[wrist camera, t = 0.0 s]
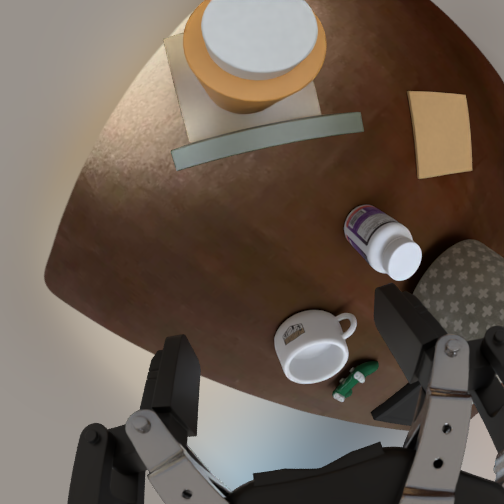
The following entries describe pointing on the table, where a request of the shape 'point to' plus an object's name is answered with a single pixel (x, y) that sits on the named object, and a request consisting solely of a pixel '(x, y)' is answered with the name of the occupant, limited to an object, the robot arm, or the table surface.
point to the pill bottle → (382, 242)
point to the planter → (465, 290)
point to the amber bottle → (253, 51)
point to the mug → (313, 345)
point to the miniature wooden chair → (244, 118)
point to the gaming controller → (354, 379)
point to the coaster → (440, 133)
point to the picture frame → (399, 406)
